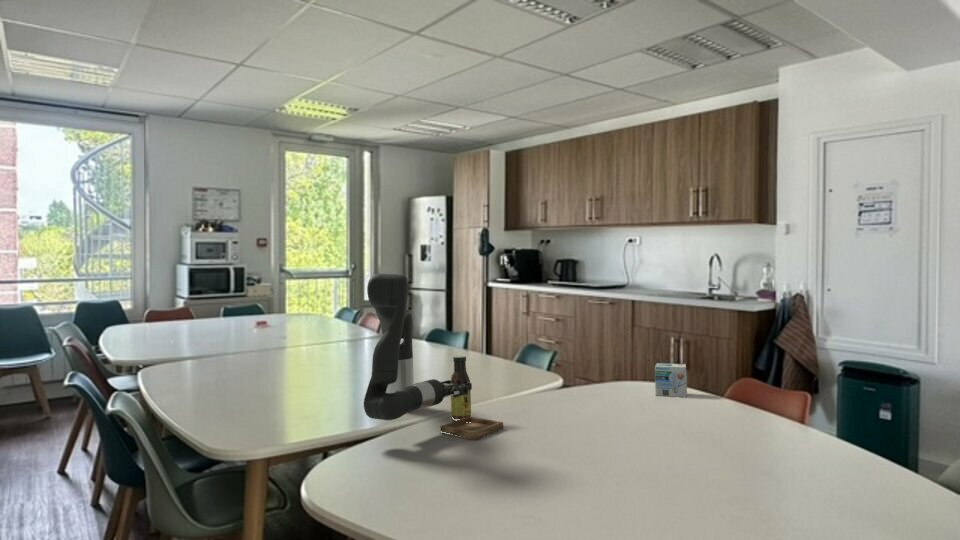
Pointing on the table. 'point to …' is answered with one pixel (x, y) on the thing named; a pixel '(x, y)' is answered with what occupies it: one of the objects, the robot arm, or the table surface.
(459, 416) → the sauce bottle
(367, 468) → the table surface
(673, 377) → the light bulb box
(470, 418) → the walnut tray
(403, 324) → the robot arm
